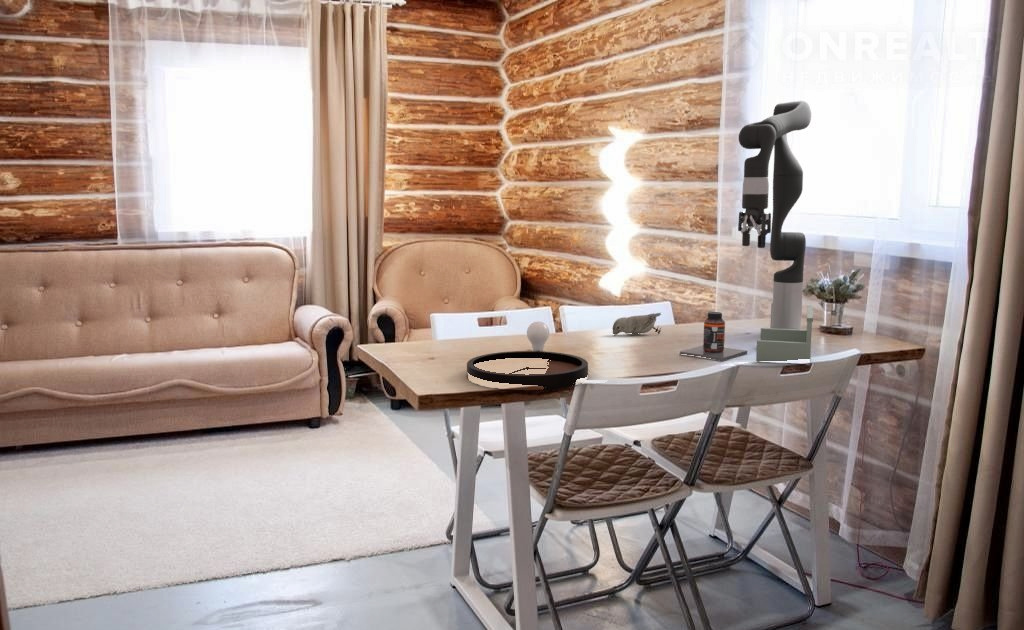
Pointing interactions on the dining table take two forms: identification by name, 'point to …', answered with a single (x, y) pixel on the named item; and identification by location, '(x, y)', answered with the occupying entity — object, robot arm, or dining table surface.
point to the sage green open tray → (785, 343)
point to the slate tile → (715, 353)
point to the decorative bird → (636, 324)
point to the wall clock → (556, 377)
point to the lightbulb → (538, 335)
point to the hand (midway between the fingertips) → (753, 246)
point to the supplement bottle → (714, 332)
